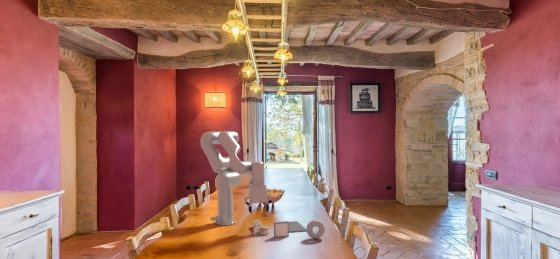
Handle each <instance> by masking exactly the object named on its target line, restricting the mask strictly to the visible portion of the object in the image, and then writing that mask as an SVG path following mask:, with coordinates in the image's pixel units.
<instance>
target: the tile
mask: <svg viewBox="0 0 560 259" xmlns="http://www.w3.org/2000/svg"><path fill="white" fill-rule="evenodd" d="M289 222H290V221H289V220H286V221H285V220H284V221H274V222H273V238H285V237H286V238H288V237H290V234H289Z"/></svg>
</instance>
